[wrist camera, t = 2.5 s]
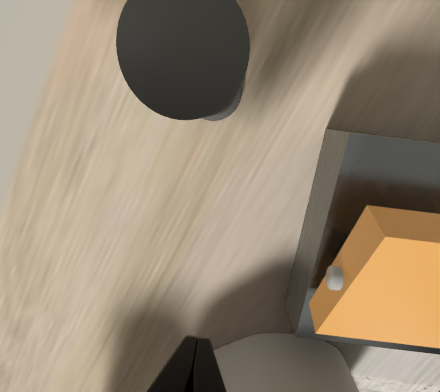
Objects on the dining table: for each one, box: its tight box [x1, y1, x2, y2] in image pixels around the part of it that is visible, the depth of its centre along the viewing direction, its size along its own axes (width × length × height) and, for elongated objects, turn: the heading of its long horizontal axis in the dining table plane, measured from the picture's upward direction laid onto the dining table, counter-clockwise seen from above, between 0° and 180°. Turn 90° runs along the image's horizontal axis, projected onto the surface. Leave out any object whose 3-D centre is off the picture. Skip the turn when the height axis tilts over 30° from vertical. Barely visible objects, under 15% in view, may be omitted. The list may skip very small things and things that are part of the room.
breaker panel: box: [285, 129, 440, 354], centre depth 14 cm, size 11×12×4 cm
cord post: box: [116, 0, 250, 121], centre depth 9 cm, size 3×3×10 cm
